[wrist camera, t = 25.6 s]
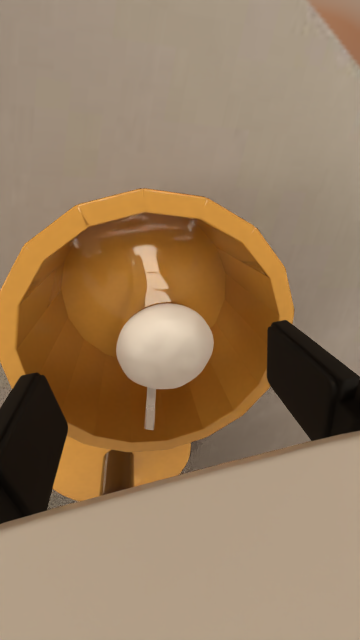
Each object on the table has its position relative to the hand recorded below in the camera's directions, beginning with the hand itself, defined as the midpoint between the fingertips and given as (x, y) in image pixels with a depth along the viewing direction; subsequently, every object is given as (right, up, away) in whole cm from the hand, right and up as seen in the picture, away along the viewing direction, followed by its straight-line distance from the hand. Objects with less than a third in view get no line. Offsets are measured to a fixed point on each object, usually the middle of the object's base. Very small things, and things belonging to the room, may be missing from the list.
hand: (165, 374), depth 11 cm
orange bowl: (-2, +4, +9) cm, 10 cm away
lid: (-6, -11, +15) cm, 19 cm away
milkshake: (-2, +4, +9) cm, 10 cm away
